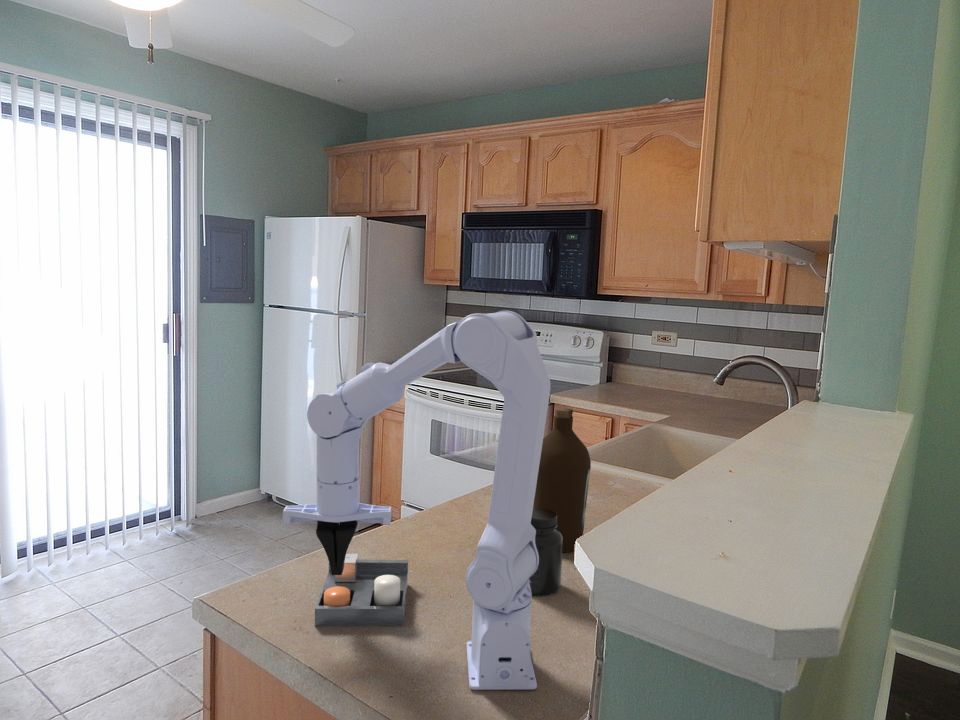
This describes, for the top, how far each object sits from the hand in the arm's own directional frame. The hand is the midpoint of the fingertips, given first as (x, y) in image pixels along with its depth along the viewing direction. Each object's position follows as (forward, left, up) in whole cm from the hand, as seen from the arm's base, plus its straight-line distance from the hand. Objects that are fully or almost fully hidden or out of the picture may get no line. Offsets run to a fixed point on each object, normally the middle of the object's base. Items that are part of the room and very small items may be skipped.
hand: (337, 571), depth 90 cm
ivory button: (0, -7, -4) cm, 8 cm away
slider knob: (+6, 0, -4) cm, 7 cm away
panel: (+3, -3, -6) cm, 8 cm away
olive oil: (+26, -36, -7) cm, 45 cm away
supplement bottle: (+9, -30, -7) cm, 32 cm away
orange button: (0, 0, -6) cm, 6 cm away
